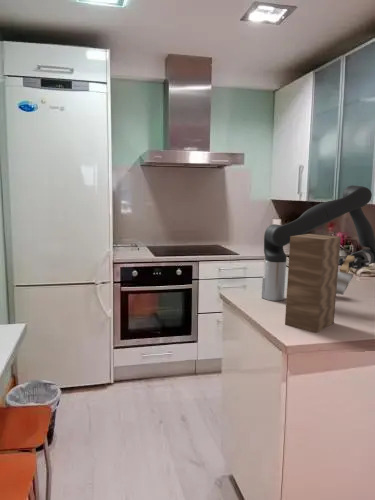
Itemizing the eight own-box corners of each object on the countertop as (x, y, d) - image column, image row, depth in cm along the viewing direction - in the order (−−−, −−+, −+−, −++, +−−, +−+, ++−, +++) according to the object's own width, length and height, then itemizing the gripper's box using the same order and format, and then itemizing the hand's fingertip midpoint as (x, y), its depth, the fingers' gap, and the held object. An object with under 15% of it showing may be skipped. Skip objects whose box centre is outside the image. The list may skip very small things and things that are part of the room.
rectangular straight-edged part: (342, 294, 156) (342, 289, 154) (323, 291, 161) (322, 286, 160) (361, 261, 168) (360, 256, 167) (342, 259, 174) (341, 254, 172)
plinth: (316, 332, 135) (323, 239, 131) (284, 324, 143) (290, 236, 138) (333, 322, 146) (340, 236, 142) (303, 315, 154) (308, 233, 150)
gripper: (344, 249, 183) (329, 253, 170) (376, 253, 174) (363, 257, 161) (343, 265, 184) (328, 270, 171) (375, 270, 175) (362, 275, 162)
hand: (345, 264), depth 166 cm, fingers closed on rectangular straight-edged part, 2 cm apart
